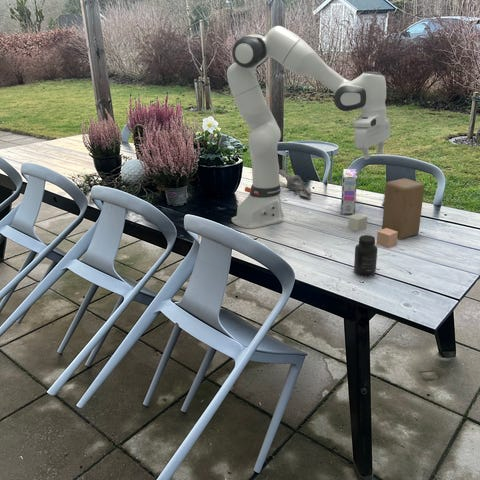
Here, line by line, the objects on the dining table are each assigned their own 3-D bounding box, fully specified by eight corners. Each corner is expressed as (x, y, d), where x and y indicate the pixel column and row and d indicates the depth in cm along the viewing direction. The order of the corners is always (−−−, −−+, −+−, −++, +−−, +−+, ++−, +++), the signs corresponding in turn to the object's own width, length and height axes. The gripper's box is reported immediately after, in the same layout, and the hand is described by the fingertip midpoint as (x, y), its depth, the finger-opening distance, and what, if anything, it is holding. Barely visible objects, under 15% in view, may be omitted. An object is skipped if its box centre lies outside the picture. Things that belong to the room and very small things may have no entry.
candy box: (355, 215, 197) (357, 177, 191) (340, 214, 199) (342, 177, 192) (354, 204, 210) (356, 168, 203) (341, 203, 211) (342, 168, 204)
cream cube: (357, 231, 181) (358, 219, 179) (347, 228, 185) (348, 216, 183) (366, 228, 184) (367, 216, 182) (356, 225, 187) (357, 213, 185)
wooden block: (399, 240, 172) (405, 188, 164) (380, 231, 180) (384, 181, 172) (419, 234, 176) (426, 183, 168) (399, 226, 184) (405, 177, 176)
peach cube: (387, 248, 166) (389, 235, 164) (376, 244, 170) (377, 231, 168) (396, 244, 169) (397, 231, 167) (385, 240, 172) (386, 227, 170)
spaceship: (288, 165, 246) (276, 161, 242) (320, 190, 217) (306, 186, 213) (282, 179, 248) (270, 175, 245) (313, 205, 219) (299, 201, 216)
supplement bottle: (350, 268, 153) (353, 234, 148) (371, 266, 154) (374, 232, 149) (357, 277, 147) (359, 242, 142) (378, 276, 147) (381, 241, 142)
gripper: (379, 113, 178) (379, 149, 184) (350, 123, 165) (351, 161, 170) (395, 113, 174) (394, 150, 179) (366, 123, 161) (367, 163, 166)
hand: (373, 156), depth 175 cm, fingers open, 8 cm apart
